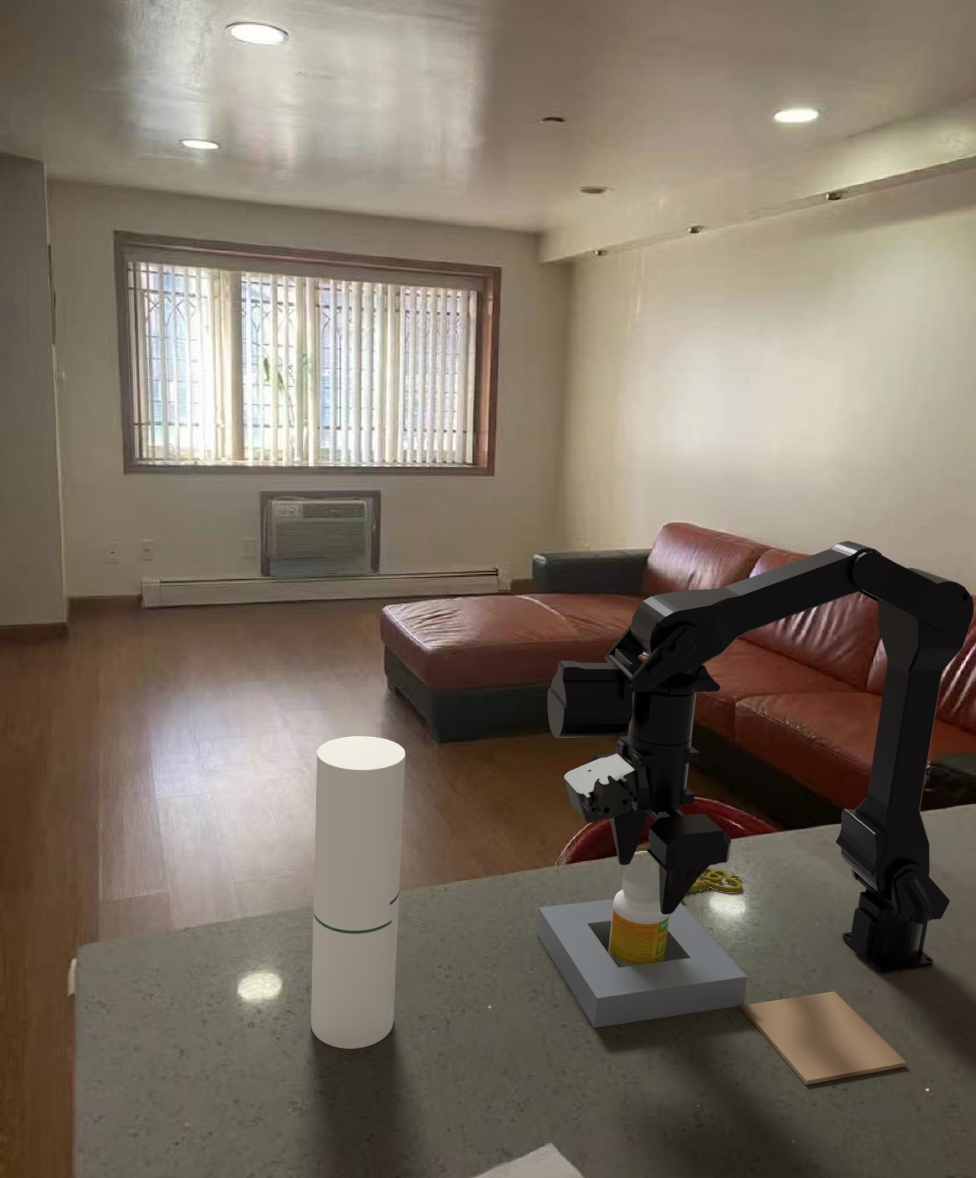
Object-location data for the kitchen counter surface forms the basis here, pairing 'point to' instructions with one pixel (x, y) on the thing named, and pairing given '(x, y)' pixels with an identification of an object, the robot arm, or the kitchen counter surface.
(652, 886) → the supplement bottle
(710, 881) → the key
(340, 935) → the cylindrical container
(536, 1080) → the kitchen counter surface
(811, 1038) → the pad
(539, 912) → the grey rectangular frame
